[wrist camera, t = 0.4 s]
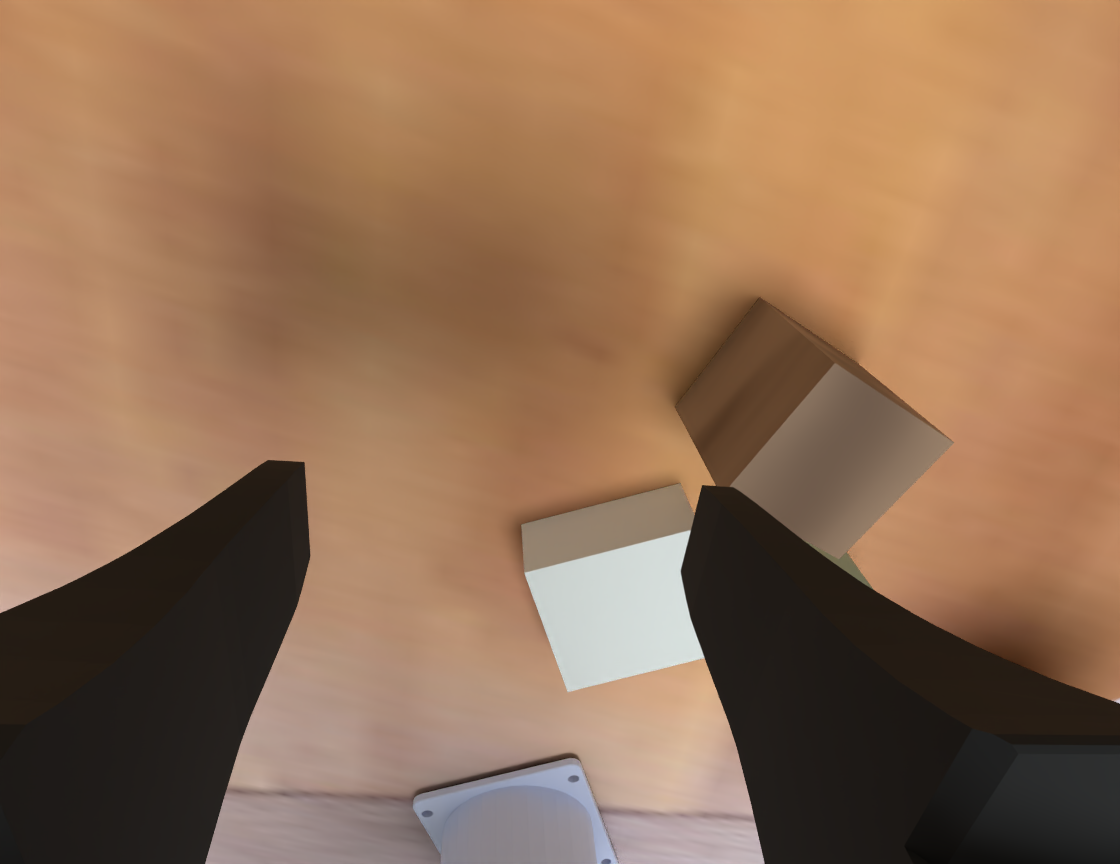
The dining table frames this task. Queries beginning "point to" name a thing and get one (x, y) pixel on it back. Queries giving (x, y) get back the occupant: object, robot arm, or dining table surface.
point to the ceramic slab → (613, 586)
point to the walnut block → (805, 431)
